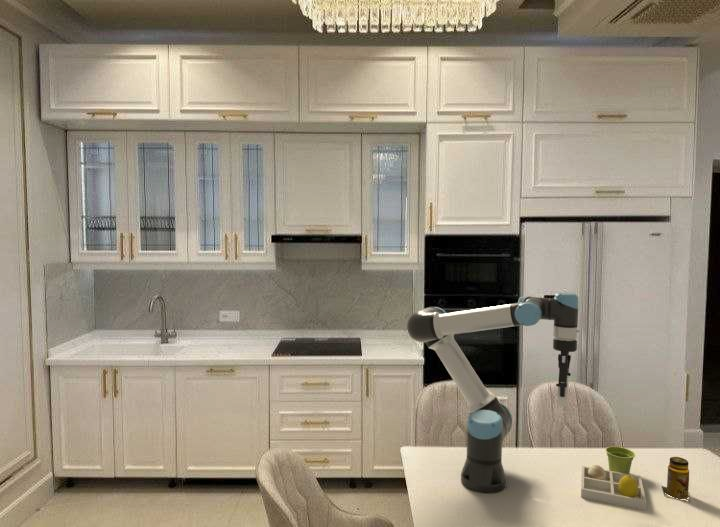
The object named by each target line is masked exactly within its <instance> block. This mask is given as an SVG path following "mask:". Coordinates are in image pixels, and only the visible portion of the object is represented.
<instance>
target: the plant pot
mask: <svg viewBox="0 0 720 527" xmlns="http://www.w3.org/2000/svg"><path fill="white" fill-rule="evenodd" d="M604 450H605V452H606V456H607V461H608V471H614V472H620V473H625V474H630V471H631V467H632V463H633V460H634V458H635V457H636V454H635V451H632V450H631V449H629V448H626V447H621V446H608V447H606V448H605V449H604Z"/></svg>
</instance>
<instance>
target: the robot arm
mask: <svg viewBox="0 0 720 527" xmlns="http://www.w3.org/2000/svg"><path fill="white" fill-rule="evenodd" d="M540 320H545V321H553V333H552V334H553V339H552V340H553V341H552V348H553V350H555V351H557V352H560V353H558V355H557V356H558V357H557V361H558V362H557V365H558V366H557V367H558V369H559V370H558V383H555V387H558V388H557V406H558V407H564V408H565V407H567V399H568V397H567V396H568V395H569V381H570V380H569V377H571V373H572V372H570V364H571V361H572V360H571V358H572V355H570V353H573V352H576V351H577V350H578V341H577V340H576V339H578V334H579V333H580V329H578V324H579V323H578V322H579V296H578V295H577V294H575V293H573V292H570V293H569V292H557V293H555V294H554V297H551V298H550V297H549V298H548V297H536V296H535V297H534V296H528V295H527V296H520V297H519V298H518V301H517V302H515V303H514V302H513V303H509V304H507V303H506V304H502V305H500V304H499V305H496V306H489V307H488V306H487V307H481V308H475V309H474V308H473V309H469V310H460V311H453V312H446V311H445V310H444V309H442V308H441V307H439V306H429V307H426V308H424V309H420V310H418V311H417V310H416V311H415V312H413V313H412V315H411V314H410V316H409V318H408V320H407V324H406V329H407V332H408V334H409V336H410V338H412V339H413V340H414V341H416V342H419V343H425V344H426V346H427V348H428V349H429V350H430V349H431V350H433V351H435V353H436V355H437V356H438V358H439V359H440V361H441V362H442V364H443V366H444V367H445V369H446V371H447V373H448V375H450V377H451V379H452V380H453V383H455V385H456V387H457V388H458V390H459V391H460V393H461V394H462V396H463V399H464V400H465V401H466V402H467V404H468V407H469V409H468V414H469V415H468V417H467V422H466V430H467V431H466V432H467V433H466V458H465V461H464V465H463V467H462V470H461V474H460V481H461V484H462V485H463V486H464V487H466V488H467V489H469V490H472V491H475V492H478V493H488V494H491V493H499V492H502V491H503V490H504V489H506V487H507V476H506V473H505V470H504V466H503V462H502V457H503V456H502V455H503V453H502V452H503V451H502V450H503V441H504V440H505V439H506V436H507V435H508V434H509V433H510V431H511V430H512V426H513V415H512V413H511V411H510V409H509V407H507V406H506V405H505V404H503V403H501V402H500V401H499V399H498V398H497V396H496V395H493V394H491V393H489V392H488V391H489V390H488V389H487V388H486V387H485V385H484V383H483V381H482V380H481V379H480V377H479V375H478V374H477V373H476V371H475V369H474V367H472V365H471V363H470V361H469V360H468V358H467V357H466V354H464V351H462V349H461V347H460V346H459V344H458V342H457V341H456V339H455V337H454V336H455V335H459V334H466V333H474V332H480V331H481V332H482V331H487V330H488V331H489V330H496V329H503V328H505V329H506V328H510V327H521V326H525V327H530V326H534V325H536V324H538V323H539V322H540Z"/></svg>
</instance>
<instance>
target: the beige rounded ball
mask: <svg viewBox="0 0 720 527" xmlns="http://www.w3.org/2000/svg"><path fill="white" fill-rule="evenodd" d="M589 467H590V468H589V470H588V475H589V477H590V478H593V479H599V480H605V478H606V472H605V470H606V469H605V468H604V467H602V466H601V465H597V464H594V465H592V466H589Z"/></svg>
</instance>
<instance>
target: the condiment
mask: <svg viewBox="0 0 720 527" xmlns="http://www.w3.org/2000/svg"><path fill="white" fill-rule="evenodd" d="M668 464H669V465H668V466H667V481H666V486H664V485H661V490H662V493H663V496H664V497H667V498H671V499H674V498H678V499H686V500H688V502H687V503H690V502H691V500H690V499H691V498H690V497H689V499H687V498H688V495H689V496H690V493H689V487H690V486H689V485H690V469H689V460H687V458H683V457H680V456H671V457H669V463H668ZM665 493H666V494H668V495H670V496H672V497H674V498H672V497H669V496H667V495H666V494H665ZM678 499H677V500H678Z"/></svg>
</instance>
